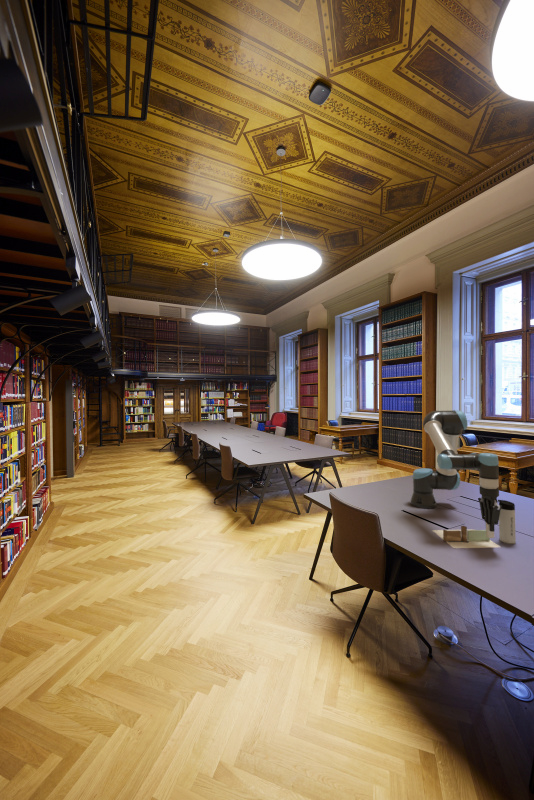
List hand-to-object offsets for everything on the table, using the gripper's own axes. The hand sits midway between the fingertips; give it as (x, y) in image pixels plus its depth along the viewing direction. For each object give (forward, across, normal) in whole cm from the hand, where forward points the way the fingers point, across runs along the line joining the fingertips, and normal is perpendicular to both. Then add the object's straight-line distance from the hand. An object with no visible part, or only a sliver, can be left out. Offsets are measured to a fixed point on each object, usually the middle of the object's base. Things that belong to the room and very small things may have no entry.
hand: (490, 537), depth 149 cm
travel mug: (+5, +5, -12) cm, 14 cm away
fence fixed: (+4, +6, +13) cm, 15 cm away
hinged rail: (+4, +6, +1) cm, 8 cm away
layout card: (+5, +9, +6) cm, 12 cm away
